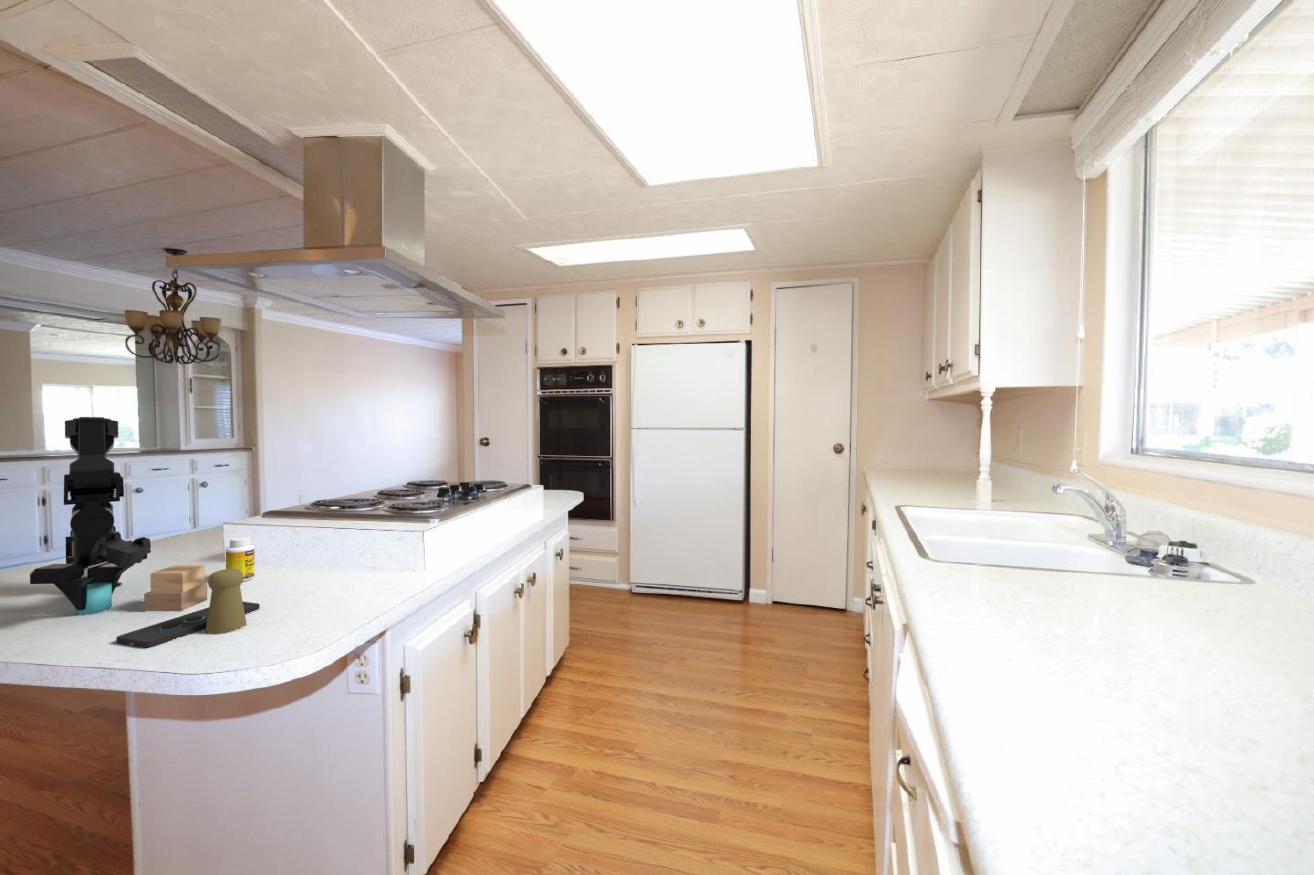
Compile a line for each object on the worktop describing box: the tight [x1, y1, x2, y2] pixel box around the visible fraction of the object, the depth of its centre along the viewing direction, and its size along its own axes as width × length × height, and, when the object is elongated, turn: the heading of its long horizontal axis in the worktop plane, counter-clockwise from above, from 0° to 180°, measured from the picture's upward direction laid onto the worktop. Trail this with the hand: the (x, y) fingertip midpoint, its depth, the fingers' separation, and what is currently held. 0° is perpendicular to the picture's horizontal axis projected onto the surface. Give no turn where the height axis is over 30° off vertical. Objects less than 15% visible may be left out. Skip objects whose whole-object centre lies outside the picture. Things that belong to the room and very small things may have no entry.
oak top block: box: [150, 564, 206, 593], centre depth 111 cm, size 6×6×4 cm
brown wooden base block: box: [143, 582, 208, 612], centre depth 111 cm, size 7×7×4 cm
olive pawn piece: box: [205, 568, 247, 635], centre depth 99 cm, size 6×6×11 cm
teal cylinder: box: [75, 583, 113, 616], centre depth 107 cm, size 5×5×5 cm
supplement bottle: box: [225, 536, 256, 583], centre depth 128 cm, size 6×6×10 cm
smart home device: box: [115, 601, 261, 649], centre depth 101 cm, size 8×2×20 cm
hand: (94, 605), depth 107 cm, fingers closed on teal cylinder, 5 cm apart
